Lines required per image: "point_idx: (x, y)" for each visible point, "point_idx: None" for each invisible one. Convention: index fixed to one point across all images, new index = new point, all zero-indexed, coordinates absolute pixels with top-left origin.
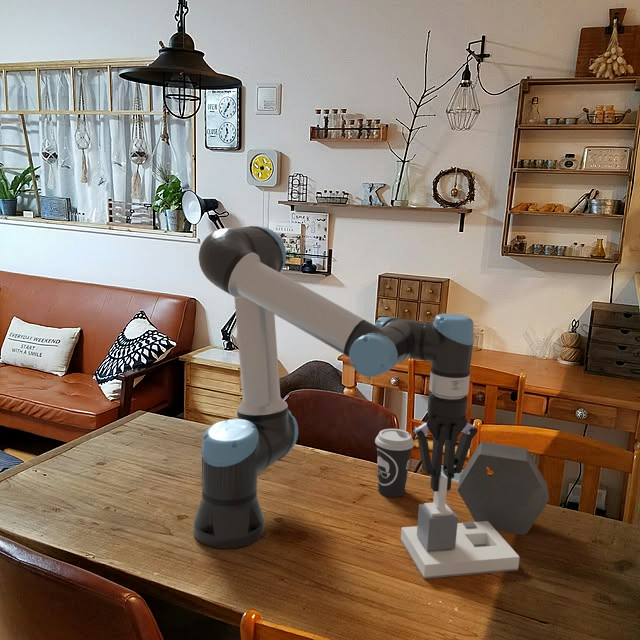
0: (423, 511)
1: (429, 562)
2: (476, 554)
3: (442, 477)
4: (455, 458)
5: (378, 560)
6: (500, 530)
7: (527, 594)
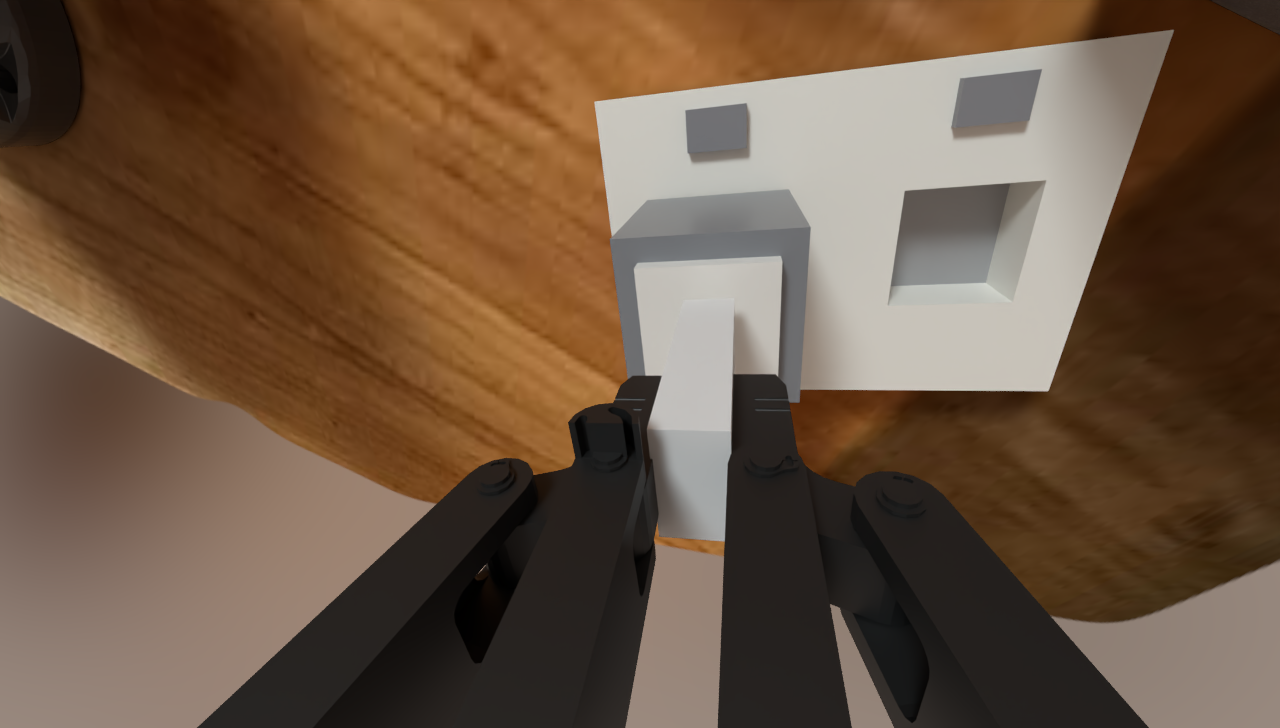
0: (620, 315)
1: None
2: (861, 354)
3: (681, 528)
4: (933, 641)
5: (508, 249)
6: (1235, 11)
7: (943, 470)
